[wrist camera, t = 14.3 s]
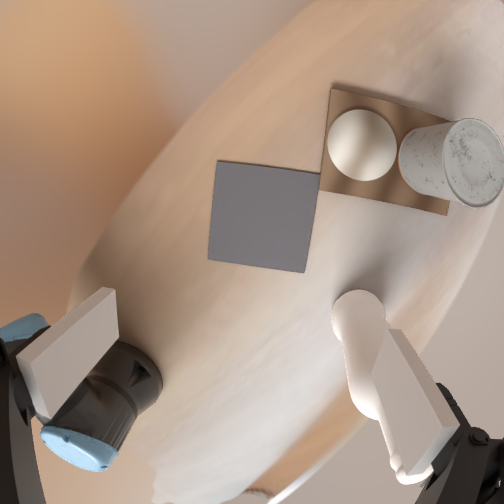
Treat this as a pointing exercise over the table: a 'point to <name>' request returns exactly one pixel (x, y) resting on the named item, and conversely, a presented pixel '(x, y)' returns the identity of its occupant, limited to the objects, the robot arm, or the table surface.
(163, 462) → the table surface
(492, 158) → the grey marbled cylinder
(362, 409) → the bottle
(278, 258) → the mat
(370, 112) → the board
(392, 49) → the table surface
